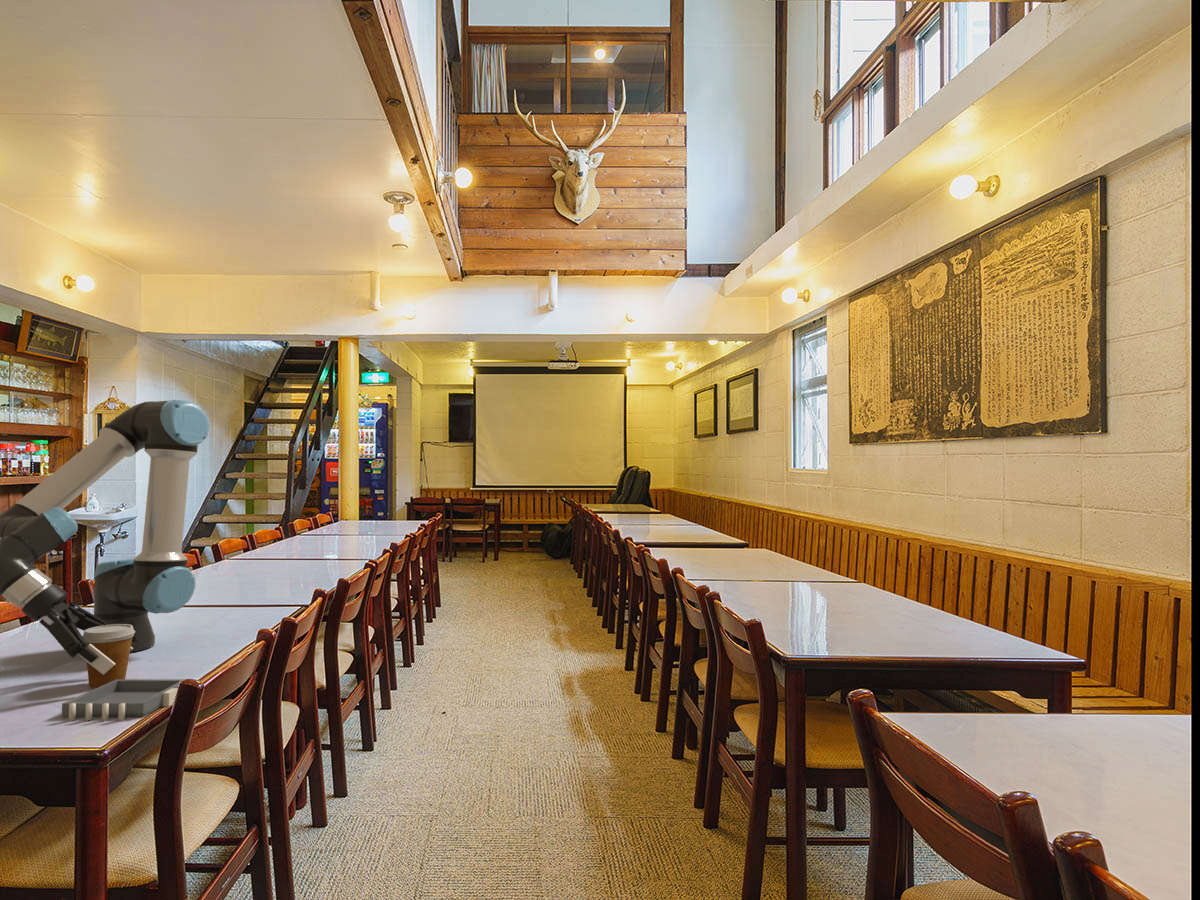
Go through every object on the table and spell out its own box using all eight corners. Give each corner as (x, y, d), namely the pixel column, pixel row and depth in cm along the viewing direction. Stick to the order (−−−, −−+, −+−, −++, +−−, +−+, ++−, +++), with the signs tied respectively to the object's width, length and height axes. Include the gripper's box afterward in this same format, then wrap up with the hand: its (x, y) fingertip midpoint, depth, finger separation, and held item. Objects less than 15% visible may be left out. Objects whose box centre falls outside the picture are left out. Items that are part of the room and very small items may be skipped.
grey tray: (115, 691, 143) (116, 677, 143) (194, 691, 143) (194, 677, 143) (53, 721, 126) (53, 704, 126) (142, 721, 126) (143, 704, 126)
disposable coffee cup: (98, 677, 152) (100, 623, 153) (143, 677, 153) (144, 623, 154) (68, 691, 143) (70, 633, 143) (116, 690, 144) (118, 633, 144)
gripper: (44, 598, 155) (120, 659, 159) (-7, 621, 131) (84, 691, 136) (73, 574, 157) (147, 635, 162) (28, 592, 133) (117, 662, 138)
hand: (119, 661), depth 149 cm, fingers open, 13 cm apart
